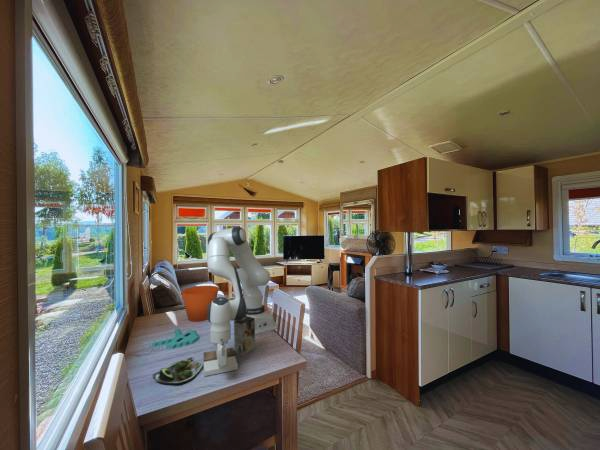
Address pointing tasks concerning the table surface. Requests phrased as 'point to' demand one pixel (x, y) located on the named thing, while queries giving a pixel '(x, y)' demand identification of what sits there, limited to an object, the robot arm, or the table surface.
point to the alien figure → (179, 339)
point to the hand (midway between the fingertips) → (220, 366)
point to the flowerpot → (198, 301)
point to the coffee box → (244, 335)
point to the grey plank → (213, 368)
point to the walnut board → (212, 354)
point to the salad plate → (177, 372)
